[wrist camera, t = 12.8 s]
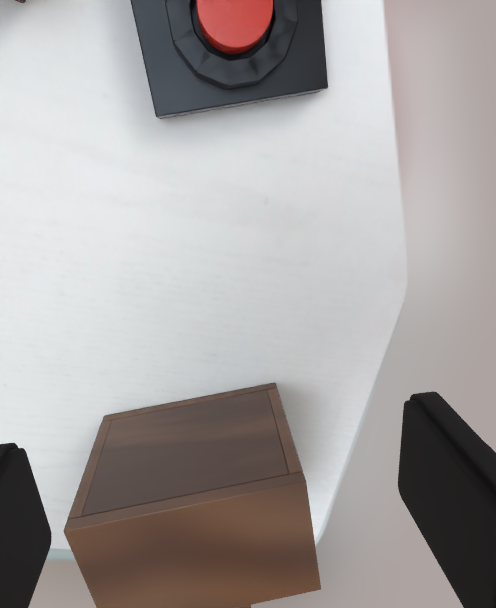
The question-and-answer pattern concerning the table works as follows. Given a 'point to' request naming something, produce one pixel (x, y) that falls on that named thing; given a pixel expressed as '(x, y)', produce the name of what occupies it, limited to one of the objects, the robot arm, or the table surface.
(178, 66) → the switch box
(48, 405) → the table surface
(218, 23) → the button
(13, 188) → the table surface
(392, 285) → the table surface
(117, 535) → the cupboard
